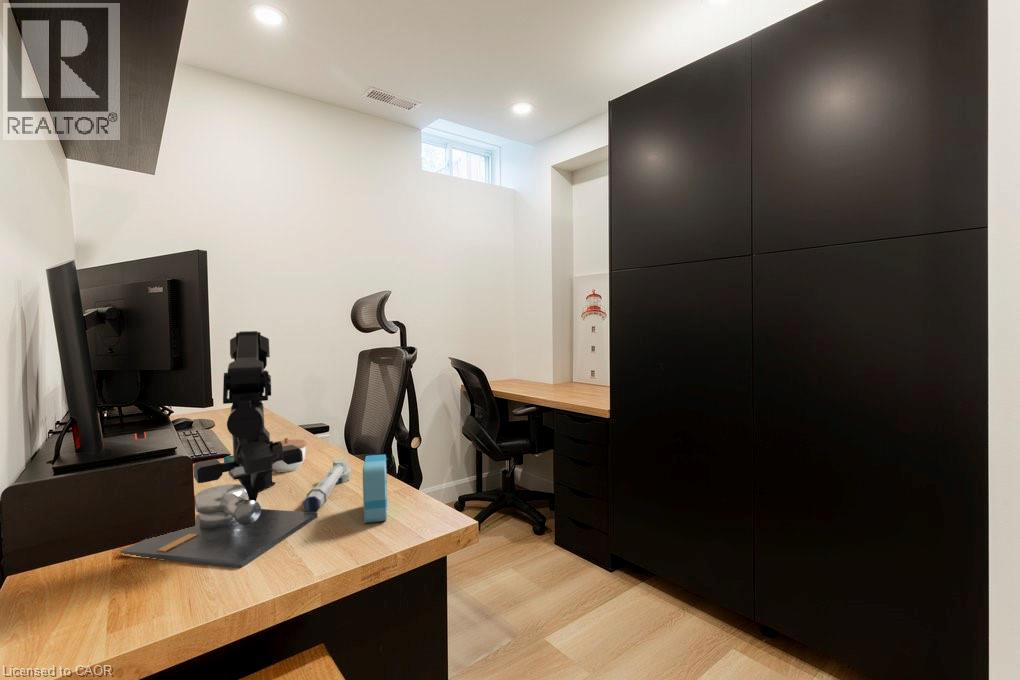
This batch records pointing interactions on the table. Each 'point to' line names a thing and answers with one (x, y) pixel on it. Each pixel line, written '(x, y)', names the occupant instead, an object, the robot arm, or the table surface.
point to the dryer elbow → (228, 503)
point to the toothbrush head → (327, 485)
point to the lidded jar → (284, 467)
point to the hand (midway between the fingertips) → (252, 504)
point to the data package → (375, 488)
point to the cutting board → (223, 538)
